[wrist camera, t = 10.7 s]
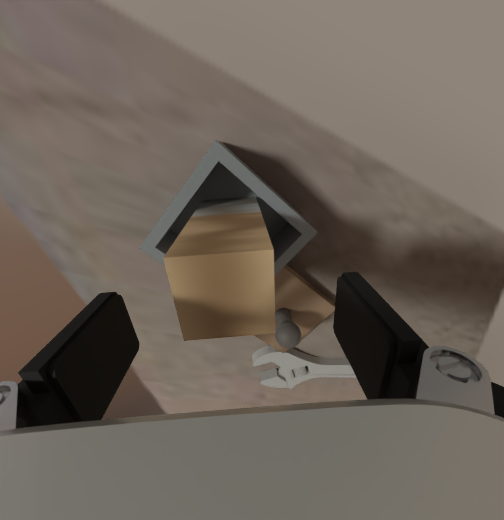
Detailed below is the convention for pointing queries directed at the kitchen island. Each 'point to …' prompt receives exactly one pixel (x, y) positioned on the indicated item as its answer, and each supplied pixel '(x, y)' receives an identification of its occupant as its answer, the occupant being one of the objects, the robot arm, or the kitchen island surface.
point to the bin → (225, 187)
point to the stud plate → (295, 309)
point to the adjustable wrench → (298, 367)
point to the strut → (223, 271)
